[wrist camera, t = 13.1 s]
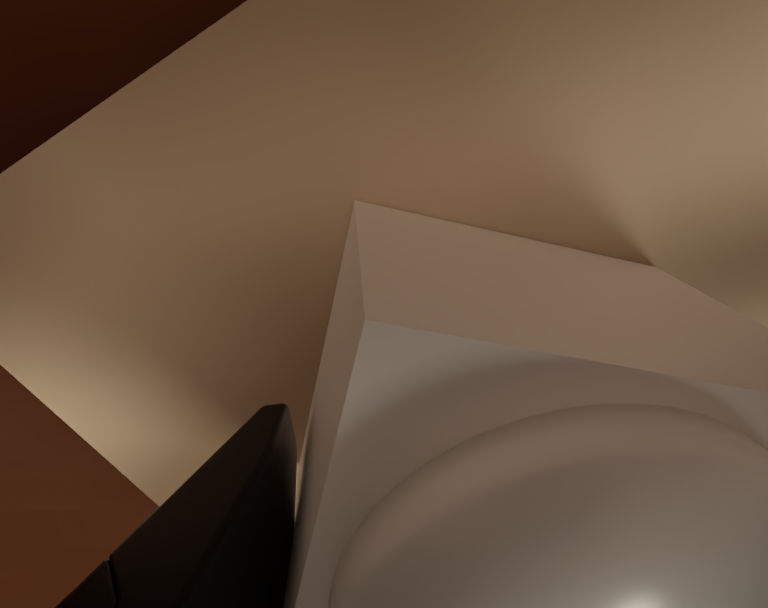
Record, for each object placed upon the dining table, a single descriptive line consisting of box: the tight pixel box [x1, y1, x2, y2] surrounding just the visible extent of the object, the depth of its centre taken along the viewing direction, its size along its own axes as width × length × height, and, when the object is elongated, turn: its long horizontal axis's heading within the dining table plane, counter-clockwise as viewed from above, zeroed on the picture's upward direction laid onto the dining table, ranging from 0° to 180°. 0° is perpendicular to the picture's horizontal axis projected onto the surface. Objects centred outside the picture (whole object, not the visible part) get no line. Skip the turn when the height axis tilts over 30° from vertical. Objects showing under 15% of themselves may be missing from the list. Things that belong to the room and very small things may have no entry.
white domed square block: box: [283, 200, 768, 608], centre depth 7 cm, size 6×6×5 cm
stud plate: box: [0, 0, 768, 507], centre depth 8 cm, size 14×14×4 cm
